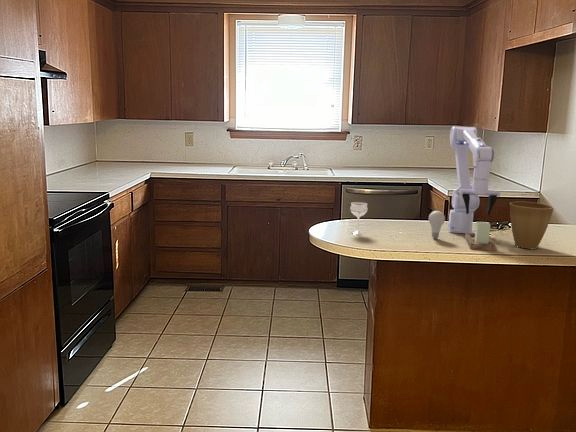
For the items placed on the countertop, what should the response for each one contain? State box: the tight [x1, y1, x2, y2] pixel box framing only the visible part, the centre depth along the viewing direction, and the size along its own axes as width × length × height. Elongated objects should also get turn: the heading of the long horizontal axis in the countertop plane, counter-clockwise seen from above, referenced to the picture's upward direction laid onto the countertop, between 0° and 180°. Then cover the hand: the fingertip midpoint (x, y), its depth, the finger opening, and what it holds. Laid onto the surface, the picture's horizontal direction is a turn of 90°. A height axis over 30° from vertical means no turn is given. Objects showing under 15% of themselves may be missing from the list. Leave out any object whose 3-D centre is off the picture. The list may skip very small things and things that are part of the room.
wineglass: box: [349, 201, 368, 235], centre depth 219 cm, size 7×7×12 cm
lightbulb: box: [428, 210, 446, 239], centre depth 214 cm, size 6×6×11 cm
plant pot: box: [509, 201, 554, 250], centre depth 205 cm, size 15×15×16 cm
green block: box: [474, 221, 491, 244], centre depth 204 cm, size 4×4×9 cm
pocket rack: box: [464, 232, 497, 252], centre depth 208 cm, size 9×17×2 cm, turn 169°
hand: (477, 214), depth 212 cm, fingers open, 7 cm apart
